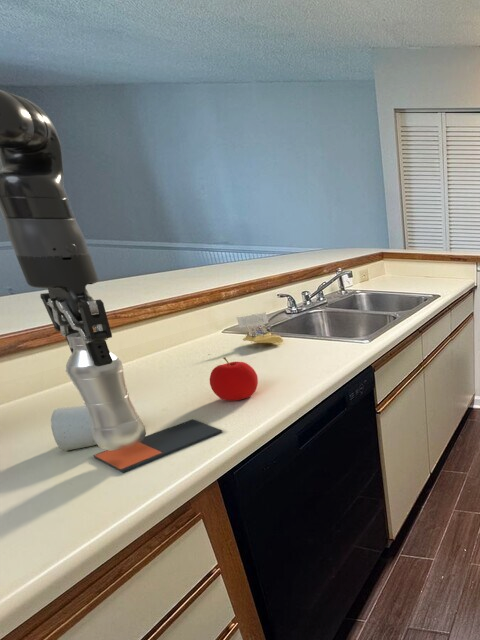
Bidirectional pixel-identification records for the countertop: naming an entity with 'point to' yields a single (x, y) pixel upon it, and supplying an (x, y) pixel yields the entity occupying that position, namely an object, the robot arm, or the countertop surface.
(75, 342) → the plastic bottle
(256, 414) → the countertop surface
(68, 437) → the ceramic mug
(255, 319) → the model sailing ship
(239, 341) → the countertop surface
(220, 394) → the fruit
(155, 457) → the mat
